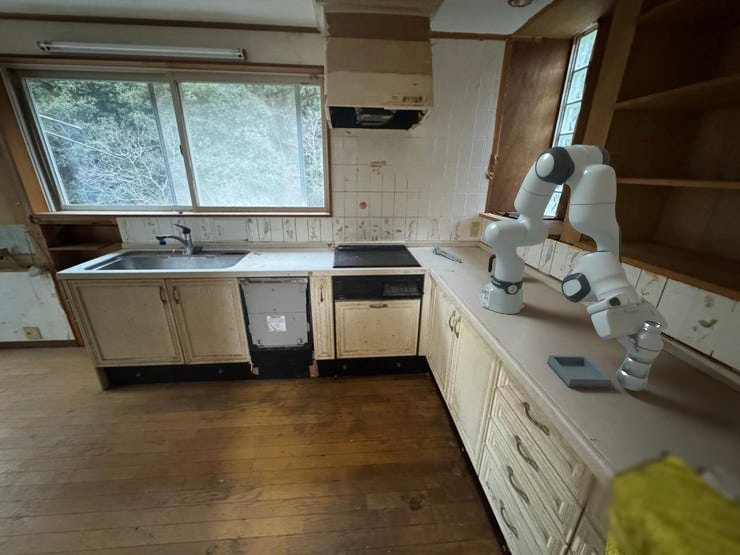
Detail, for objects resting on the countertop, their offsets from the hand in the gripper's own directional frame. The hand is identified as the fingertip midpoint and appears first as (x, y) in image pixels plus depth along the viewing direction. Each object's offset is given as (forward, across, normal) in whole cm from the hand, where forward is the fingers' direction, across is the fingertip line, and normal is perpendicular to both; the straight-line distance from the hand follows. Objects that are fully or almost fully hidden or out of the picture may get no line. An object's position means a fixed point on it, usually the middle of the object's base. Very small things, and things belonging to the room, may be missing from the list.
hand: (645, 351), depth 77 cm
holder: (+3, +9, -16) cm, 18 cm away
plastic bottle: (+8, 0, -9) cm, 12 cm away
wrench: (-82, -11, -105) cm, 134 cm away
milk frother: (-49, -21, -70) cm, 88 cm away
